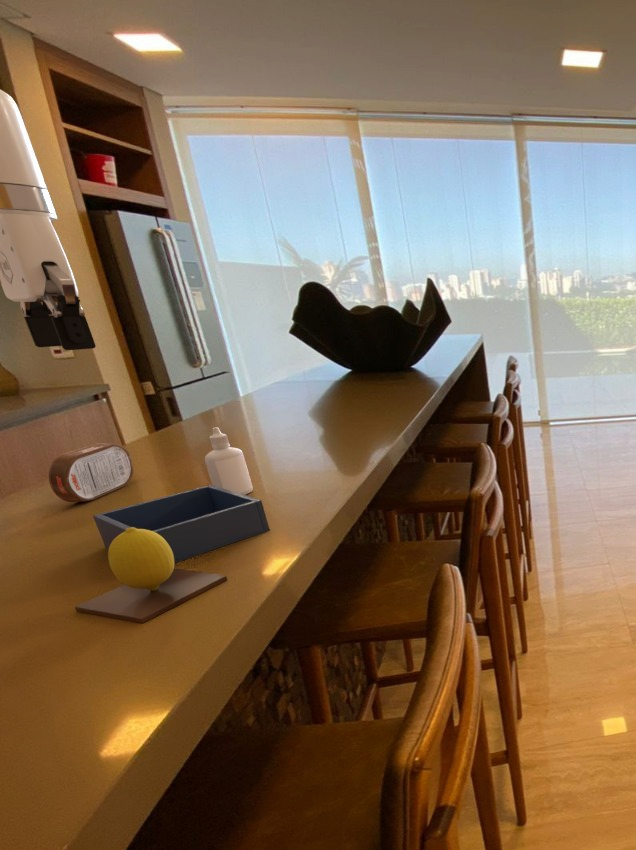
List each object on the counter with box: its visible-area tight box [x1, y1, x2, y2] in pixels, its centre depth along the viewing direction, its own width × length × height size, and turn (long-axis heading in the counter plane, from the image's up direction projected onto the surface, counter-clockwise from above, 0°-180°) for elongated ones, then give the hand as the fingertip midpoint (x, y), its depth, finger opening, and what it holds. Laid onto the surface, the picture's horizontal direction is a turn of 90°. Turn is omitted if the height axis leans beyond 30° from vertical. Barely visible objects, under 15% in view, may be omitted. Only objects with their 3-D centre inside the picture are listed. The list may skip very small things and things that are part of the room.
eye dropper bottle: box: [204, 426, 254, 496], centre depth 96 cm, size 4×6×12 cm
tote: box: [92, 484, 271, 564], centre depth 80 cm, size 15×15×5 cm
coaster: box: [74, 567, 228, 624], centre depth 66 cm, size 10×10×1 cm
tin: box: [48, 442, 134, 503], centre depth 98 cm, size 15×3×8 cm, turn 6°
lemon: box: [107, 527, 175, 591], centre depth 65 cm, size 6×6×8 cm
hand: (65, 347), depth 76 cm, fingers open, 9 cm apart
